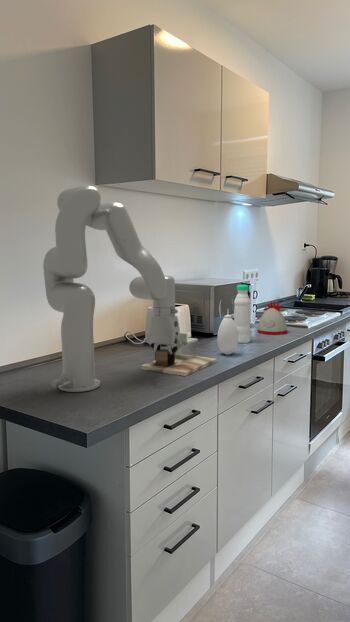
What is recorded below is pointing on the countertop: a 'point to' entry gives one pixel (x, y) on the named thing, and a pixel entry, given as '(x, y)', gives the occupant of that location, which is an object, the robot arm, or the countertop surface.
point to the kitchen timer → (272, 321)
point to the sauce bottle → (227, 335)
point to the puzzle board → (181, 365)
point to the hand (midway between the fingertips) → (164, 362)
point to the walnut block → (162, 358)
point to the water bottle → (242, 314)
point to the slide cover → (185, 341)
